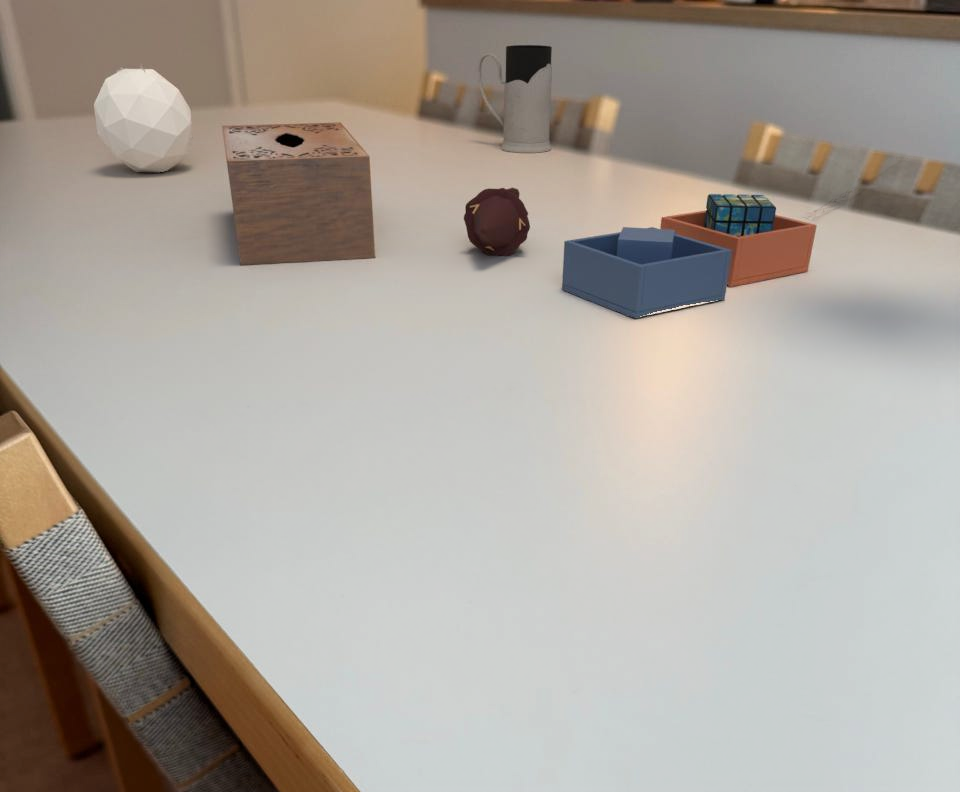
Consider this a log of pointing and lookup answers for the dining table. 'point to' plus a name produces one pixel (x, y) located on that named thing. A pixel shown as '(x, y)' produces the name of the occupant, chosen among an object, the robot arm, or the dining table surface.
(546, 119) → the glass holder
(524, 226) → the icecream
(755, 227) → the puzzle
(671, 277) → the blue bin
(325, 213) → the tissue box cover
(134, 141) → the geodesic sphere
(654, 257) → the blue block
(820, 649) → the dining table surface
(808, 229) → the terracotta bin
